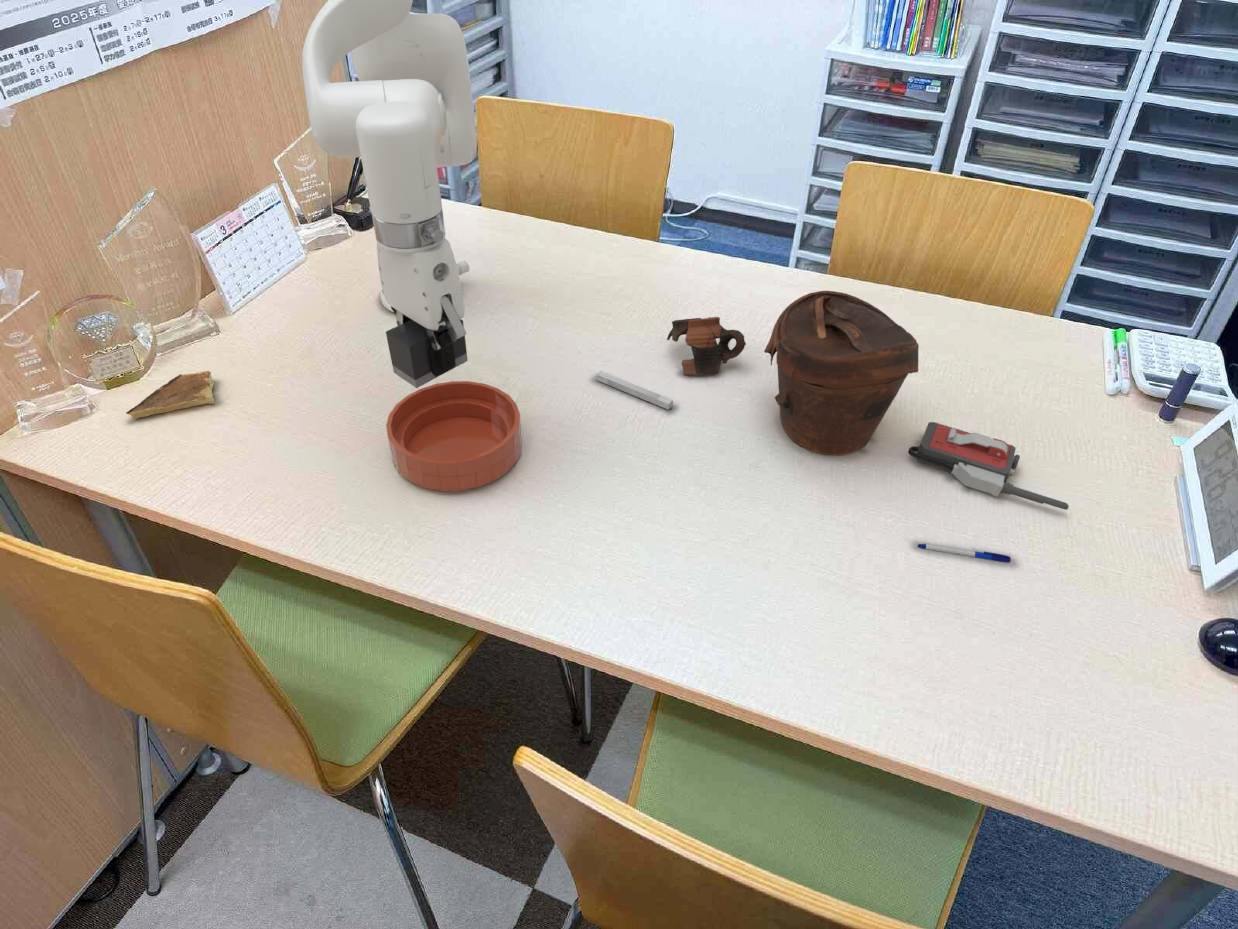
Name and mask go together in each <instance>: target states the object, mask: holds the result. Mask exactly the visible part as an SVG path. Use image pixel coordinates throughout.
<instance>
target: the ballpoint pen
mask: <svg viewBox="0 0 1238 929" xmlns="http://www.w3.org/2000/svg"><path fill="white" fill-rule="evenodd" d="M917 548H920V549H923V550H928V551H934V552H941V553H946V554H947V553H948V554H953V555H960V556H966V557H972V558H977V559H983V560H990V561H993V562H994V561H995V562H1000V563H1001V562H1002V563H1010V562H1011V561H1012V559H1011V556H1009V555H1006V554H1001V553H995V552H990V551H983V552H982V551H978V550H977V551H976V550H975V551H974V550H966V549H962V548H954V547H947V546H941V545H934V544H928V543H918V544H917Z"/></svg>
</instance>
